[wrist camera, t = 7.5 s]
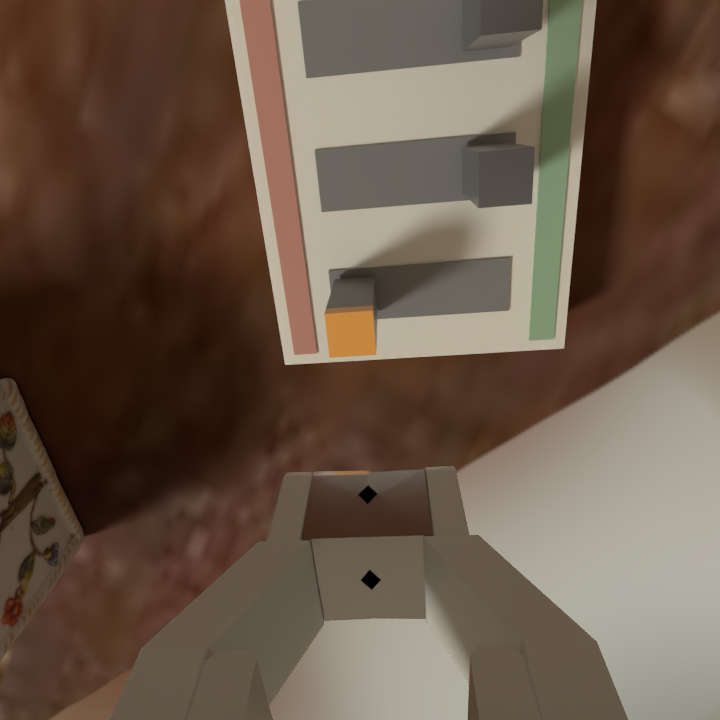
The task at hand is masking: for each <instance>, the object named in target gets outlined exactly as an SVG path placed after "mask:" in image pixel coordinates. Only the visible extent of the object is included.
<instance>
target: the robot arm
mask: <svg viewBox="0 0 720 720" xmlns="http://www.w3.org/2000/svg"><path fill="white" fill-rule="evenodd" d="M370 618H402V619H404V618H405V619H406V618H407V619H426V622H427V623H428V625H429V626H430V628H431V629H432V630H433V632H434V633H435V635H436V636H437V638H438V639H439V641H440V642H441V644H442V645H443V646H444V648H445V649H446V651H447V652H448V654H449V655H450V656H451V658H452V659H453V661H454V662H455V664H456V665H457V667H458V668H459V670H460V671H461V673H462V674H463V675H464V677H465V678H466V680H467V681H468V683H469V700H468V720H628V719H627V716H626V713H625V711H624V708H623V706H622V703H621V701H620V698H619V696H618V694H617V691H616V688H615V686H614V683H613V681H612V678H611V676H610V673H609V671H608V668H607V666H606V663H605V661H604V659H603V656H602V654H601V651H600V648H599V646H598V644H597V641H595V640H594V639H593V638H592V637H591V636H590V635H589V634H587V632H585V631H584V630H583V629H582V628H581V627H580V626H579V625H578V624H577V623H575V622H574V621H573V620H572V619H571V618H570V617H569V616H568V615H567V614H565V613H564V612H563V611H562V610H561V609H560V608H559V607H558V606H556V605H555V604H554V603H553V602H552V601H551V600H550V599H549V598H548V597H546V596H545V595H544V594H543V593H542V592H541V591H540V590H539V589H538V588H537V587H535V586H534V585H533V584H532V583H531V582H530V581H529V580H528V579H526V578H525V577H524V576H523V575H522V574H521V573H520V572H519V571H517V570H516V569H515V568H514V567H513V566H512V565H511V564H510V563H509V562H508V561H507V560H505V559H504V558H503V557H502V556H501V555H500V554H499V553H498V552H497V551H495V550H494V549H493V548H492V547H491V546H490V545H489V544H488V543H487V542H485V541H484V540H483V539H482V538H481V537H480V536H479V535H469V532H468V527H467V522H466V517H465V513H464V508H463V503H462V498H461V494H460V488H459V484H458V479H457V474H456V469H455V468H454V467H453V466H443V467H427V468H425V469H424V468H423V469H401V470H380V471H327V472H314V473H313V472H296V473H286V475H285V476H284V478H283V480H282V484H281V488H280V491H279V495H278V499H277V503H276V507H275V511H274V514H273V518H272V522H271V526H270V530H269V534H268V537H267V541H266V542H257V543H256V544H255V545H254V546H253V547H252V548H251V549H250V550H248V551H247V552H246V553H245V554H244V555H243V556H242V557H241V558H240V559H239V560H238V561H236V562H235V563H234V564H233V565H232V566H231V567H230V568H229V569H228V570H227V571H225V572H224V573H223V574H222V575H221V576H220V577H219V578H218V579H217V580H216V581H215V582H213V583H212V584H211V585H210V586H209V587H208V588H207V589H206V590H205V591H204V592H202V593H201V594H200V595H199V596H198V597H197V598H196V599H195V600H194V601H193V602H191V603H190V604H189V605H188V606H187V607H186V608H185V609H184V610H183V611H182V612H181V613H179V614H178V615H177V616H176V617H175V618H174V619H173V620H172V621H171V622H170V623H168V624H167V625H166V626H165V627H164V628H163V629H162V630H161V631H160V632H159V633H158V634H156V635H155V636H154V637H153V638H152V639H151V640H150V641H149V642H148V643H147V644H145V645H144V646H143V647H142V648H141V650H140V653H139V655H138V657H137V659H136V662H135V664H134V666H133V668H132V671H131V673H130V675H129V678H128V680H127V682H126V684H125V687H124V689H123V691H122V693H121V696H120V698H119V700H118V702H117V705H116V707H115V709H114V712H113V714H112V716H111V718H110V720H273V719H272V715H271V711H270V707H269V705H270V704H271V702H272V700H273V699H274V698H275V696H276V695H277V693H278V692H279V690H280V688H281V687H282V686H283V684H284V683H285V681H286V680H287V678H288V677H289V675H290V674H291V672H292V671H293V669H294V668H295V666H296V665H297V663H298V662H299V660H300V659H301V657H302V656H303V654H304V653H305V651H306V650H307V649H308V647H309V645H310V644H311V642H312V641H313V640H314V638H315V637H316V635H317V634H318V632H319V631H320V629H321V628H322V626H323V625H324V621H329V620H350V619H370Z"/></svg>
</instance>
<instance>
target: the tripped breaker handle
mask: <svg viewBox="0 0 720 720" xmlns="http://www.w3.org/2000/svg"><path fill="white" fill-rule="evenodd" d="M324 316H325V324H326V332H327V340H328V348H329V357H330V358H334V357H350V356H367V355H376V348H377V317H378V313H377V300H376V286H375V276H372V277H358V278H344V279H335V280H334V284H333V287H332V290H331V293H330V297H329V300H328V303H327V306H326V310H325V313H324Z"/></svg>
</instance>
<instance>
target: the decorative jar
mask: <svg viewBox="0 0 720 720" xmlns="http://www.w3.org/2000/svg"><path fill="white" fill-rule="evenodd" d="M83 539H84V532H83V529H82V527H81V525H80V523H79V521H78V519H77V517H76V515H75V513H74V511H73V509H72V506H71V504H70V502H69V500H68V498H67V497H66V494H65V492H64V491H63V488H62V486H61V485H60V482H59V480H58V478H57V476H56V472H55V469H54V468H53V465H52V463H51V461H50V458H49V456H48V454H47V451H46V449H45V447H44V445H43V443H42V441H41V439H40V437H39V435H38V432H37V430H36V429H35V427H34V424H33V422H32V421H31V418H30V416H29V414H28V411H27V409H26V406H25V403H24V400H23V398H22V396H21V395H20V393H19V390H18V387H17V384H16V382H15V381H14V380H13V379H11V378H4V379H0V661H1V660H2V658H3V657H4V655H5V654H6V652H7V651H8V649H9V648H10V647H11V645H12V644H13V643H14V641H15V640H16V638H17V637H18V636H19V634H20V633H21V631H22V630H23V629H24V627H25V626H26V625H27V624H28V622H29V621H30V619H31V618H32V617H33V615H34V614H35V612H36V611H37V610H38V608H39V607H40V606H41V604H42V603H43V601H44V600H45V598H46V597H47V596H48V594H49V593H50V591H51V590H52V589H53V587H54V586H55V584H56V583H57V581H58V580H59V578H60V577H61V575H62V574H63V572H64V571H65V569H66V568H67V566H68V565H69V563H70V562H71V560H72V559H73V557H74V556H75V554H76V552H77V551H78V550H79V548H80V545H81V543H82V542H83Z"/></svg>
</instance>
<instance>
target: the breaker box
mask: <svg viewBox="0 0 720 720" xmlns="http://www.w3.org/2000/svg"><path fill="white" fill-rule="evenodd" d="M596 3H597V0H225V4H226V10H227V16H228V22H229V28H230V34H231V40H232V46H233V52H234V58H235V65H236V71H237V77H238V83H239V89H240V95H241V101H242V107H243V113H244V119H245V125H246V131H247V137H248V143H249V149H250V155H251V161H252V168H253V174H254V180H255V186H256V192H257V198H258V204H259V210H260V216H261V222H262V228H263V234H264V240H265V246H266V252H267V258H268V264H269V271H270V277H271V283H272V289H273V295H274V301H275V307H276V313H277V319H278V325H279V331H280V337H281V343H282V349H283V355H284V361H285V365H292V364H309V363H326V362H343V361H360V360H377V359H394V358H411V357H427V356H444V355H461V354H478V353H495V352H512V351H529V350H546V349H563V348H564V343H565V332H566V322H567V311H568V300H569V290H570V279H571V268H572V258H573V247H574V237H575V226H576V215H577V205H578V194H579V183H580V173H581V162H582V151H583V141H584V130H585V120H586V109H587V98H588V88H589V77H590V66H591V56H592V45H593V34H594V24H595V13H596ZM372 276H375V286H376V300H377V313H378V317H377V348H376V355H367V356H350V357H334V358H330V357H329V348H328V340H327V332H326V324H325V316H324V313H325V310H326V306H327V303H328V300H329V297H330V293H331V290H332V287H333V284H334V280H335V279H344V278H358V277H372Z"/></svg>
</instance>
